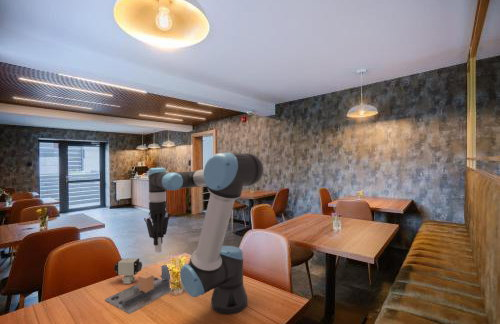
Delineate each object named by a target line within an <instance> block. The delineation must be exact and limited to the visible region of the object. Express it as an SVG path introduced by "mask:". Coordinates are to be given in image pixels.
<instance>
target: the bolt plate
mask: <svg viewBox="0 0 500 324" xmlns="http://www.w3.org/2000/svg"><path fill="white" fill-rule="evenodd" d="M160 281H162V278H159V277H156V276H154V284H156V283H158V282H160ZM170 283H171V282H170V281H169V284H168V285H166V286H164V287H162V288H160V289H158V290H156V291H154V292H152V293H150V294H149V295H147V296H145V297H143V298H141V299H139V300H137V301H135V302H133V303H131V304H129V305H128V306H126V307H124V306H122V300H124V299H126V298H128V297H130V296H132V295H134V294H136V293H138V292H140V291H141V290H139V283H136V284H134V285H132V286H130V287H127V288H126V289H123V290H121V291H119V292H117V293H115V294H113V295H111V296H109V297H107V298H105V299H104V300H105V302H106V303H108V304H111V305H112V306H114V307H116V308H117V309H120V310H121V311H123V312H125V313H127V314H128V315H132V314H133V313H134V312H136V311H138V310H139V309H141V308H143V307H145V306H147V305H149V304H150V303H152V302H154V301H157V300H158V299H159V298H161V297H163V296H165V295H166V294H169V293H170V292H172V291H171V288H170Z"/></svg>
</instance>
